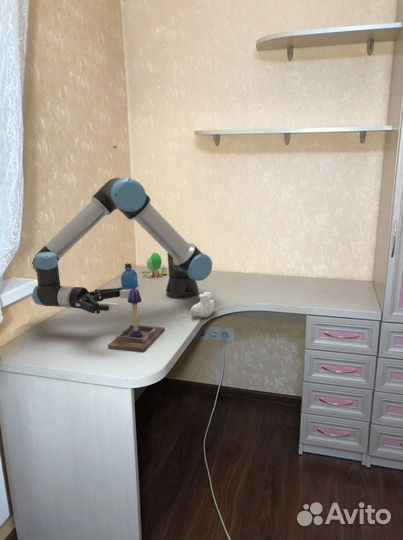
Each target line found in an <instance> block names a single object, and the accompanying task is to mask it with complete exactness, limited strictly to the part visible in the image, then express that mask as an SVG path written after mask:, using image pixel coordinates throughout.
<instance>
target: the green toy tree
mask: <svg viewBox="0 0 403 540" xmlns="http://www.w3.org/2000/svg"><path fill="white" fill-rule="evenodd" d="M146 265H147V268H148V270H149V272H150V273H151V274H150V277H151V276H152V277H153V276H154V277H153V278H157V277H160V272H161V273H162V274H163V275H164V274H167V275H166V276H163V275H162V274H161V275H162V276H163V277H162V278H161V279H164V278H166V277H168V276H169V273H168V270H167V267H166V265H164V264H163V265H162V257H161V255H160V254H159V253H158V252H153V253H152V254H151V255H150V257H148V259H147V261H146Z"/></svg>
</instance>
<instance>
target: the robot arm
mask: <svg viewBox="0 0 403 540" xmlns="http://www.w3.org/2000/svg"><path fill="white" fill-rule="evenodd" d="M116 210H118V211H119V212H120V213H122V214H123V216H125V217H126V218H127V219H128V220H130V221H132V220H134V221H135V222H136V223H138V225H139V226H141V228H143V230H144V231H146V232H147V233H148V234H149V235H150V236H151V238H153V239H154V240H155V241H156V243H157V244H158V245H159V246H161V248H162V249H164V250H165V252H167V254H166V255H167V264H168V265H167V266H168V281H167V285H166V288H165V295H166V296H167V297H169V298H170V299H189V298H194V297H197V296H199V291H200V289H199V285H198V283H197V281H199V282H200V281H204V280H205V279H207V278H208V276H210V274H211V273H212V270H213V260H212V259H211V257H210V256H209V255H208V254H206V253H204V252H202V251H201V250H200V249H199V248H198V247H197V246H196V244H194V243H191V242H190V243H188V242H187V241H186V240H185V239H184V237H182V236H181V235H180V234H179V232H178V231H177V230H176V229H174V227H173V226H172V225H171V224H170V223H169V222H168V221H167V220H166V218H165V217H163V216H162V214H161V213H159V211H158V210H157V209H156V208H155V207H154V206H153V205H152V203H151V198H150V196H149V195H148V194H147V193H146V189H145V188H144V186H143V185H142V183H140V182H139V181H138V180H136V179H133V178H130V177H123V178H122V177H113V178H111V179H109V180H108V181H107V182H105V183H104V184H103V185H102V186H101V187H100V188H99V189H98V190H97V192H96V193H94V194H93V195H92V196H91V201H90V202H89V203H88V204H87V205H86V206H84V207H83V208H82V209H81V211H79V212H78V213H77V214H76V216H74V217H73V218H72V219H71V220H70V221H69V222H68V223H66V225H65V226H64V227H63V228H62V229H61V230H60V231H58V233H56V234H55V235H54V237H52V238H51V239H50V240H49V241H48V242H47V243H46V244H45V245H44V246H43V247H42V248H41V249H40V250H38V251H39V252H38V253H37V254H36V255H35V257H34V259H33V262H32V264H33V267H32V269H33V270H34V271H35V273H36V279H37V285H36V286H35V287H34V288H33V290H32V293H33V294H31V296H32V300H33V302H34V304H36V305H39V306H45V307H57V308H59V307H60V308H66V309H70V308H73V309H80V310H83V311H85V312H88V313H90V314H95V313H96V314H98V315H99V314H101V312H109V313H111V312H112V313H119V312H121V311H120V304H119V303H113V302H102V301H104V300H107V299H113V298H115V299H116V298H120V299H128V296H129V292H130V290H122V286H121V287H115V288H114V287H113V288H105V289H104V288H103V289H102V288H101V289H94V291H88V289H87V288H86V287H84V286H83V287H82V286H72V285H71V286H68V285H64V286H63V285H62V284H61V279H60V272H59V271H60V270H59V260H60V259H61V258H63V257H64V256H66V254H67V253H68V252H69V251H70V250H71V249H72V248H73V247H74V246H75V245H76V244H77V243H79V241H80V240H81V239H82V238H84V236H85V235H86V234H88V233H89V232H90V231H91V230H92V229H93V228H94V227H95V226H96V225H97V224H98V223H99V222H100V221H101V220H102V219H103V218H104V217H105V216H109V215H111V214H112V213H113V212H114V211H116Z"/></svg>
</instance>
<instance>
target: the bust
mask: <svg viewBox="0 0 403 540" xmlns="http://www.w3.org/2000/svg"><path fill="white" fill-rule="evenodd" d="M198 297H199V299H200V300H199V302H198V303H195V304H194V305H192V306H191V309H190V311H189V312H190V316H191V317H192V318H196V317H199V318H208V317H209V316H211V314H212V313H214V308H215V306H216V303H215V301H214V300H213V299H212V293H211V292H210V291H203V293H200V294H198Z"/></svg>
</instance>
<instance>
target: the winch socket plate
mask: <svg viewBox="0 0 403 540" xmlns="http://www.w3.org/2000/svg"><path fill="white" fill-rule="evenodd" d="M138 330H139V331H141V333H142V337H140V338H136V337H130V334H131V332H132V331H133V324H129V325H128V326H126V328H125V329H123V330H122V331H121V332H120V333H119V334H117V335H116V337H115V338H114V339H113V340H112V341H111V342H110V343H108V344H107V349H113V350H119V351H129V352H139V353H140V352H141V353H145V352H146V350H148V349H149V347H151V345H152V344H154V342H155V341H156V340H157V339H158V338H159V337H160V336H161V335H162V334H163V333H164V332H165V327H163V326H153V325H152V326H151V325H141V324H138Z"/></svg>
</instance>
